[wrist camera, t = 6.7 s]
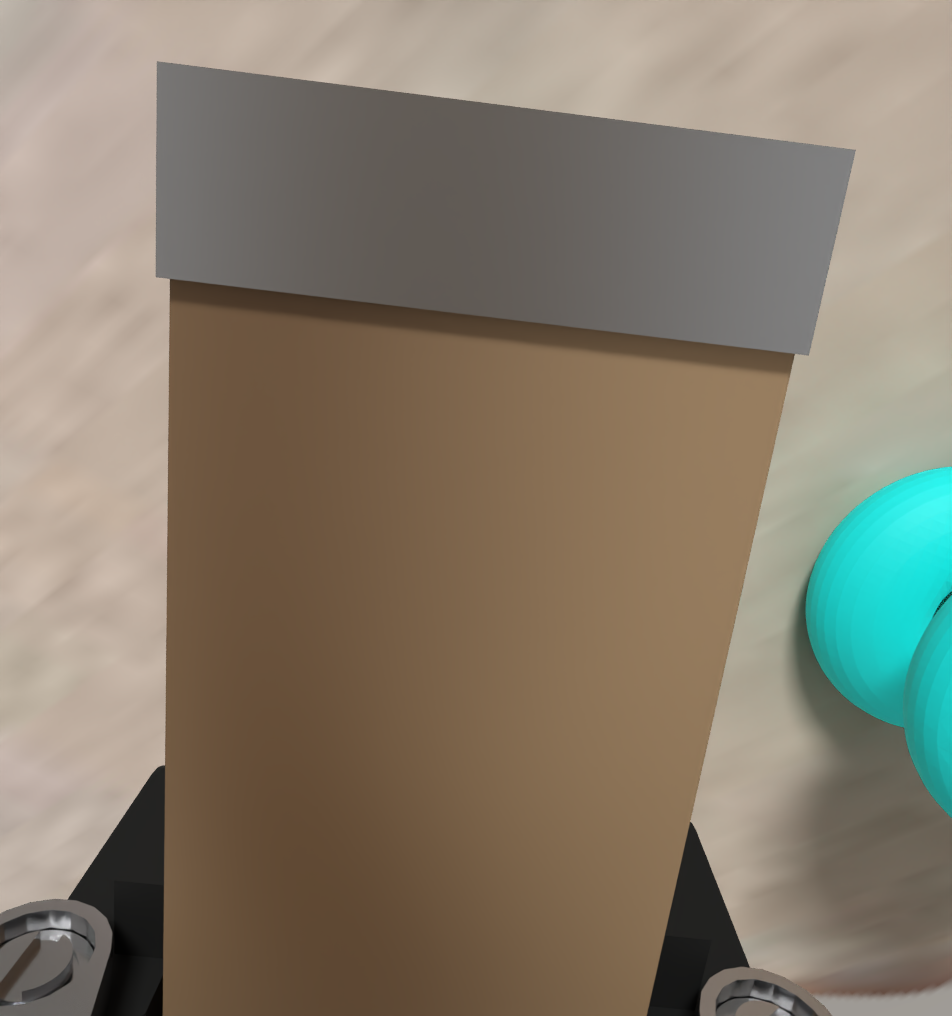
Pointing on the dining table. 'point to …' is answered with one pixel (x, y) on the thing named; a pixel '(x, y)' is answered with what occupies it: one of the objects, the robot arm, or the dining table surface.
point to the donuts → (893, 616)
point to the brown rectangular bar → (455, 531)
